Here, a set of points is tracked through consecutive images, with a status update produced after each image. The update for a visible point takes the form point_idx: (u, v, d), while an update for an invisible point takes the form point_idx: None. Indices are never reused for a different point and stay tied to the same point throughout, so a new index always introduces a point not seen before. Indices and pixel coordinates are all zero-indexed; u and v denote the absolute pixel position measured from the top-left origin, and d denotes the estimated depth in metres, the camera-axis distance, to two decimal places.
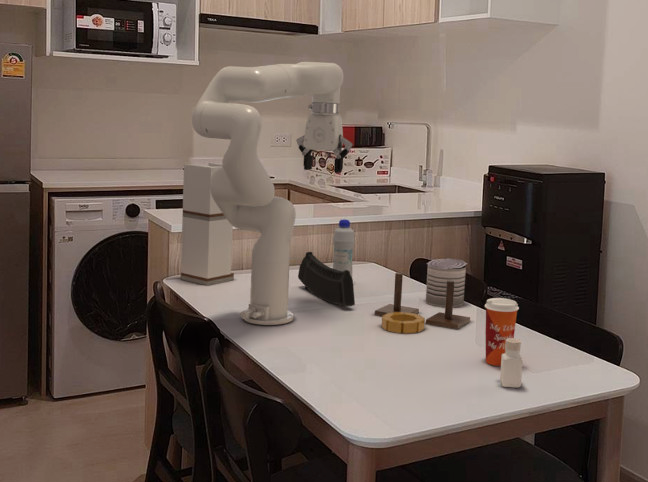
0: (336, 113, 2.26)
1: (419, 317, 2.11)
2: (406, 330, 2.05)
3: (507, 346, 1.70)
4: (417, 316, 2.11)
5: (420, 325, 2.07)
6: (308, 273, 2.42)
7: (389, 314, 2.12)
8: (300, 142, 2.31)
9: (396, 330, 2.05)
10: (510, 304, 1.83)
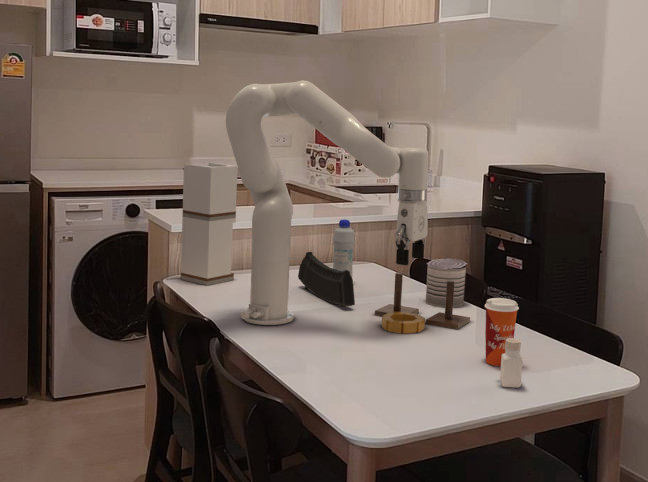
0: None
1: (419, 317, 2.11)
2: (406, 330, 2.05)
3: (507, 346, 1.70)
4: (417, 316, 2.11)
5: (420, 325, 2.07)
6: (308, 273, 2.42)
7: (389, 314, 2.12)
8: (401, 237, 2.06)
9: (396, 330, 2.05)
10: (510, 304, 1.83)
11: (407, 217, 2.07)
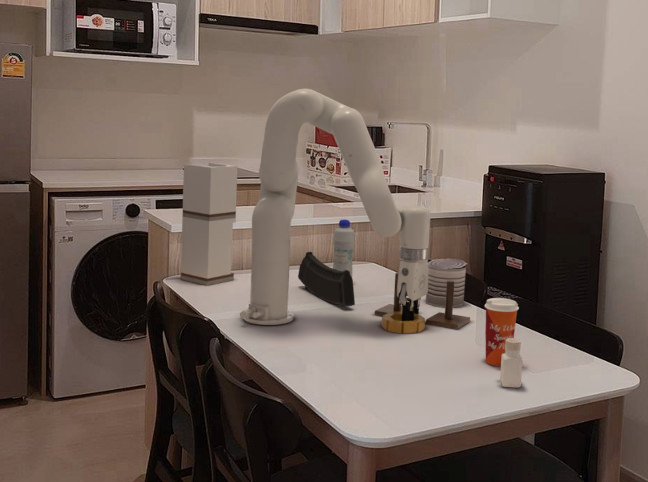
0: None
1: (419, 317, 2.11)
2: (407, 330, 2.05)
3: (507, 346, 1.70)
4: (417, 316, 2.12)
5: (420, 325, 2.07)
6: (308, 273, 2.42)
7: (389, 314, 2.12)
8: (405, 301, 2.09)
9: (396, 330, 2.05)
10: (510, 304, 1.83)
11: (408, 276, 2.08)
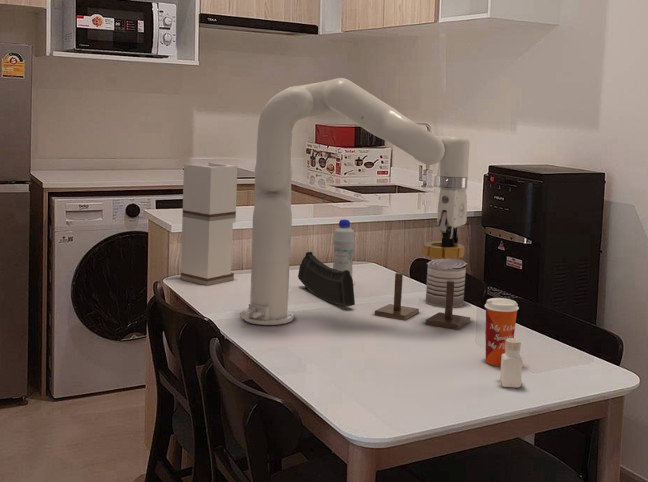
0: None
1: (459, 244, 2.15)
2: (448, 255, 2.08)
3: (507, 346, 1.70)
4: (457, 244, 2.15)
5: (461, 251, 2.11)
6: (308, 273, 2.42)
7: (429, 242, 2.16)
8: (445, 228, 2.12)
9: (437, 255, 2.09)
10: (510, 304, 1.83)
11: (448, 204, 2.11)
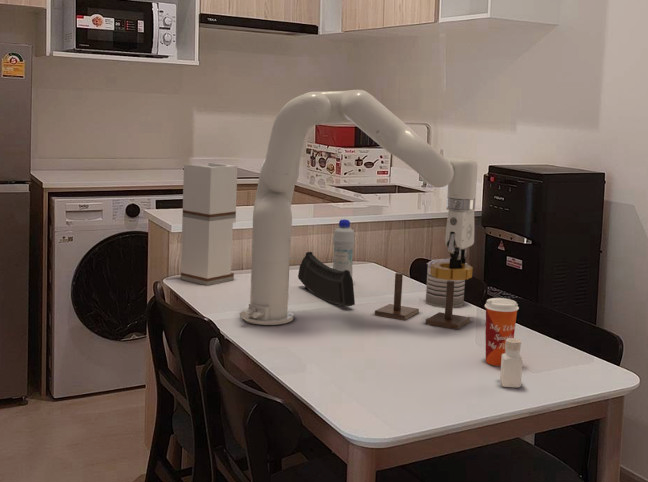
0: None
1: (467, 265, 2.17)
2: (456, 277, 2.10)
3: (507, 346, 1.70)
4: (465, 265, 2.17)
5: (469, 273, 2.13)
6: (308, 273, 2.42)
7: (437, 263, 2.18)
8: (454, 249, 2.14)
9: (446, 277, 2.11)
10: (510, 304, 1.83)
11: (456, 225, 2.13)
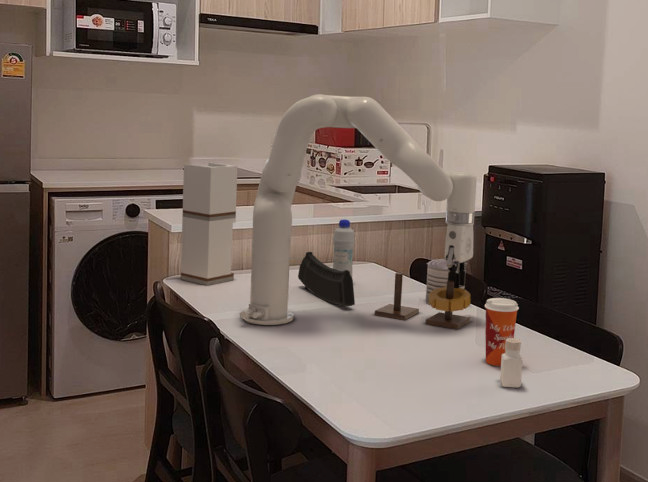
0: None
1: (465, 292, 2.17)
2: (454, 308, 2.11)
3: (507, 346, 1.70)
4: (463, 291, 2.18)
5: (467, 302, 2.14)
6: (308, 273, 2.42)
7: (435, 290, 2.18)
8: (452, 263, 2.14)
9: (444, 308, 2.12)
10: (510, 304, 1.83)
11: (455, 239, 2.14)
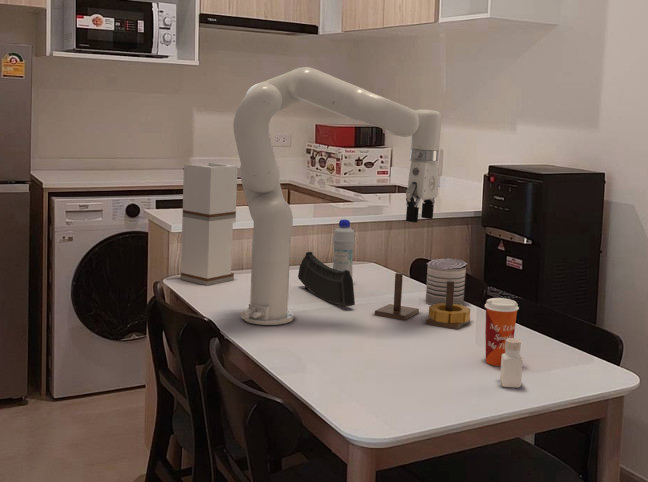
0: None
1: (465, 307, 2.18)
2: (454, 320, 2.12)
3: (507, 346, 1.70)
4: (462, 307, 2.19)
5: (466, 315, 2.14)
6: (308, 273, 2.42)
7: (435, 305, 2.19)
8: (411, 194, 2.12)
9: (443, 320, 2.12)
10: (510, 304, 1.83)
11: (418, 176, 2.14)
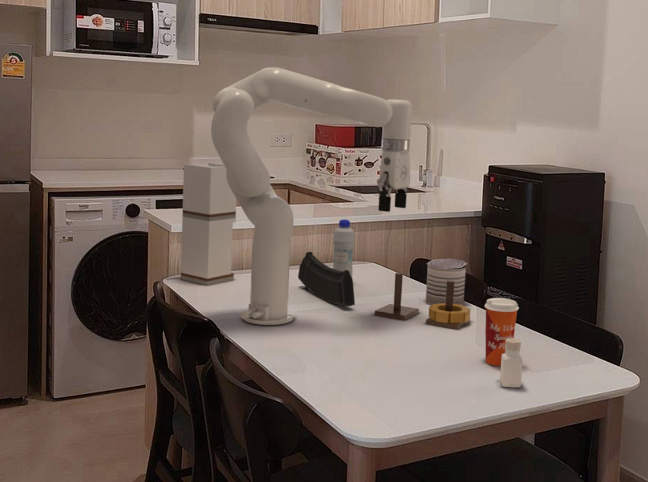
0: None
1: (465, 307, 2.18)
2: (454, 320, 2.12)
3: (507, 346, 1.70)
4: (462, 307, 2.19)
5: (466, 315, 2.14)
6: (308, 273, 2.42)
7: (435, 305, 2.19)
8: (383, 183, 2.14)
9: (443, 320, 2.12)
10: (510, 304, 1.83)
11: (390, 165, 2.15)
